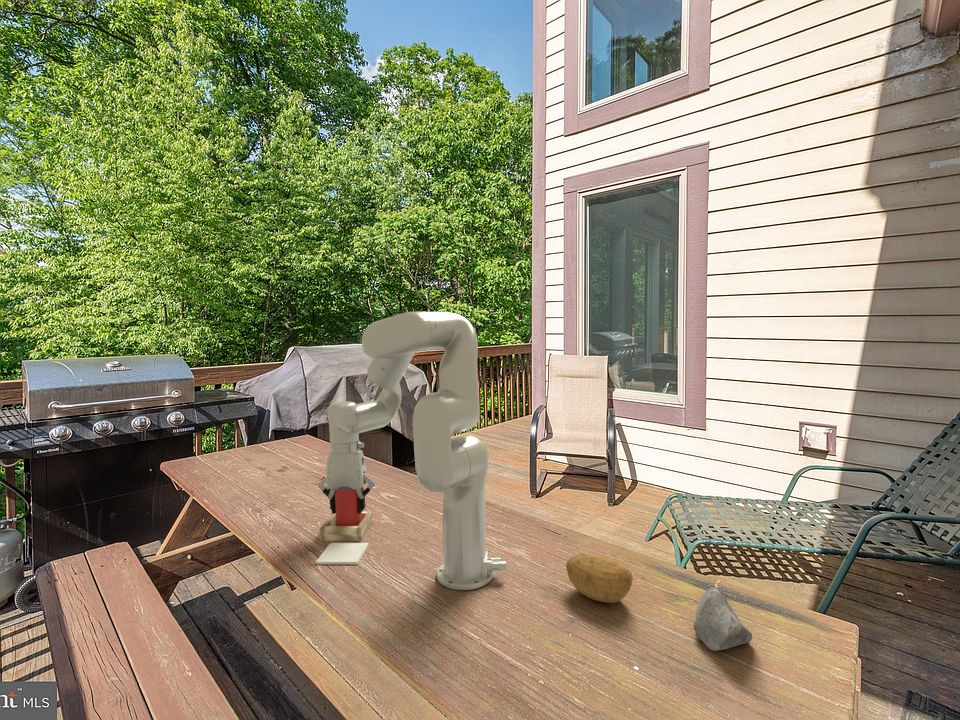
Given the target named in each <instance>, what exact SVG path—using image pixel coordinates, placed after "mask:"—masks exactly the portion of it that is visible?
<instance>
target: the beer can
mask: <svg viewBox="0 0 960 720" xmlns="http://www.w3.org/2000/svg"><path fill="white" fill-rule="evenodd" d="M358 499H359V496H358V494H357V492H356V490H353V489H351V488H338V489H337V490H336V491H335V511H336V526H358V525H359V524H360V522H361V514H360V513H358V501H357V500H358Z"/></svg>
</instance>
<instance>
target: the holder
mask: <svg viewBox="0 0 960 720" xmlns="http://www.w3.org/2000/svg"><path fill="white" fill-rule="evenodd" d="M360 514H361V522H360V524H359V525H358V526H336V513H335V514H332V513H331V515H330V516H329V517H327V519H326V520H325V522H323V524H322V525H321V526H320V527H319V534H320V536H319V537H320V542H321V541H324V542H330V541H331V542H332V541H333V542H335V541H336V542H342V541H343V542H344V541H345V542H351V541H352V542H360V541H361V542H362V541H363V540H364V538H365V536H366V535H367V533H368V531H369V530H370V529H371V526H372V525H373V511H362V513H360Z"/></svg>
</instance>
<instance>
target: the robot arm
mask: <svg viewBox="0 0 960 720" xmlns="http://www.w3.org/2000/svg"><path fill="white" fill-rule="evenodd" d="M478 343H479V342H478V335H477V332H476V330H475V328H474V325H472V323H471V321H469V320H468V319H467V318H465V317H464V316H462V315H460V314H459V313H455V312H454V313H453V312H450V311H408V312H407V311H406V312H402V313H399V314H398V313H397V314H395V315H392V316H390V317H386V318H383V319H379V320H377V321H373V322H371V323H370V324H369V325H368V326H367V327H366V328H365V329H364V331H363V334H362V336H361V346H362V349H363V352H364V353H365V355H366V356H368V357H369V358H370V359H371V358H372V359H371V361H370V363H369V365H368V367H367V370H366V371H367V372H366V374H367V377H368V379H370V381H371V382H372V383H373V384H374V385H376V386H377V387H379V388H382V389H381V391H380V394H379V395H378V397H377V398H376V400H369V401H365V402H360V403H355V402H354V401H349V400H347V401H346V400H345V401H337V402H333V403H331V404H330V405H329V406H328V427H329V444H330V448H329V449H330V451H329V452H328V454H327V459H326V460H327V462H326V469H325V470H326V476H325V477H324V478H323V479H322V480H321V481H320V482H319V483H318V484H317V488H318V489H319V490H320V491H322V493H323V495H325V496H326V497H327V499H328V500H329V509H330V510H331V515H332V514H335V513H336V511H335V491H336V490H337V489H338V488H351V489H353V490H356V492H357V494H358V496H359V499H358V500H357V501H358V513H362V512H364V510H365V509H366V495H368V494H369V493H370V492H371V490H372V489H374V487H375V486H376V484H377V483H376V481H375V480H374V479H373V478H372V477H371V476H369V475H368V474H367V466H366V461H365V456H364V452H363V450H361V449H363V448H365V442H361V441H360V439H359V438H360V437H359V435H360V434H361V433H365V432H368V431H373V430H376V429H381V428H384V427H386V426H387V425H389V424H390V422H392V420H393V419H394V417H395V416H396V414H397V412H398V410H399V408H400V407H401V402H402V399H403V397H402V387H401V384H400V382H401V380H402V379H403V376H404V375H405V373H406V371H407V369H408V367H409V365H410V363H411V362H412V360H413V357H414V355H415V354H416V352H424V351H435V350H443V351H444V353H443V355H442V357H441V360H440V363H439V366H438V367H439V368H438V379H439V383H438V385H439V386H438V387H439V390H438V391H436V392H431V393H428V394H426V395H425V394H424V395H423V396H422V397H421V398H420V399H419V400H418V401H417V403H416V404H415V407H414V410H413V413H412V433H413V434H412V435H413V451H414V452H413V453H414V462H415V463H414V465H415V466H414V467H415V471H416V472H415V473H416V476H417V478H418V480H419V483H420V485H422V487H423V488H424V489H426V490H428V491H429V492H432V493H441V492H443V493H442V500H441V501H442V502H441V503H442V505H441V506H442V549H443V551H442V552H443V563H442V564H441V565H440V566H439V567H438V568H437V570H436V579H437V581H438V582H439V583H440V584H441V585H442V586H444V587H446V588H447V589H448V588H449V589H450V590H457V591H471V590H475V589H479V588H481V587H484V586H486V585H487V584H488V583H490V582H491V580H492V579H493V577H494V572H496V571H497V572H507V561H501V557H491V556H488V554H489V553H488V550H486V548H487V545H486V544H487V543H486V542H487V541H486V484H487V476H488V470H489V464H490V463H489V453H488V449H487V447H486V445H485V443H484V442H483V441H482V440H481V439H480V438H477V437H476V436H472V435H462V436H457V437H453V438H452V436H453V435H456V434H459V433H462V432H465V431H468V430H470V429H472V428H473V427H476V425H477V424H478V422H479V420H480V414H481V413H480V391H479V387H480V386H479V374H478V355H479V353H478V350H479V345H478ZM366 484H368V486H367V487H366V488H364V487H365V486H364V485H366Z"/></svg>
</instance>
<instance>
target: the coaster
mask: <svg viewBox="0 0 960 720" xmlns="http://www.w3.org/2000/svg"><path fill="white" fill-rule="evenodd" d="M368 547H369V542H330V543H329V544H328V545H327V546H326V548H325V549H324V550H323V552H322V553H321V554H320V556H319V557H318V558H317V559H316V560H315V565H358V564H359V562H360V560H361V559H362V557H363V555H364V554H365V552H366V550H367V549H368Z"/></svg>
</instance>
